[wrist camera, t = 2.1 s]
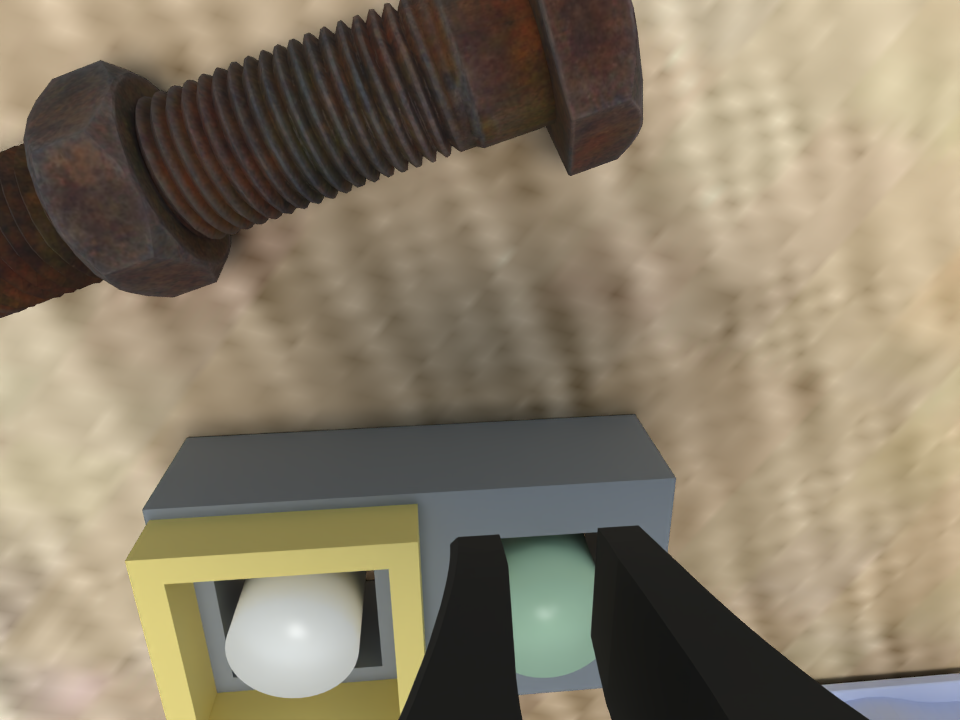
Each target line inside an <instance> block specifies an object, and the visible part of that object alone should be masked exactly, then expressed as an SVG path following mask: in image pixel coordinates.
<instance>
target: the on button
mask: <svg viewBox="0 0 960 720" xmlns="http://www.w3.org/2000/svg"><path fill="white" fill-rule="evenodd" d="M501 541H502V544H503V548H504V551H505V555H506V559H507V562H508V567H509V581H510V595H511V609H512V623H513V638H514V652H515V667H516V673H518V674H521V675H524V676H529V677H535V678H551V677H558V676H563V675H566V674H569V673H572V672H575V671H577V670H579V669H581V668H583V667H585V666H586V665H588V664H589V663H591V662H592V661H593V660H595V659H596V658H595V653H594V649H593V644H592V640H591V622H592V607H593V591H594V576H595V564H594V561H593V558H592V556H591V553H590V550H589V547H588V545H587V542H586V539H585V537H584V534H583V533H577V534H561V535H546V536H531V537H515V538H501Z"/></svg>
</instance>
